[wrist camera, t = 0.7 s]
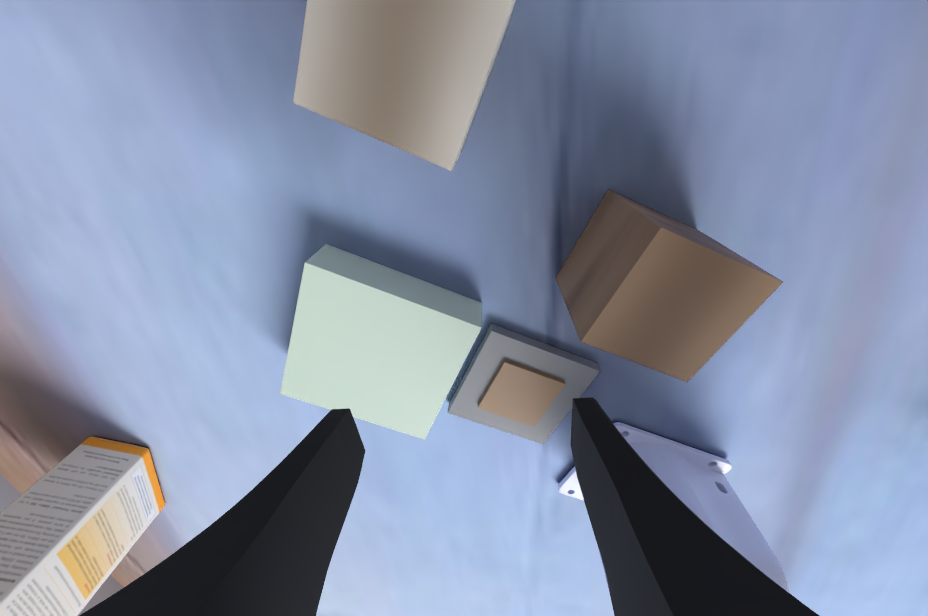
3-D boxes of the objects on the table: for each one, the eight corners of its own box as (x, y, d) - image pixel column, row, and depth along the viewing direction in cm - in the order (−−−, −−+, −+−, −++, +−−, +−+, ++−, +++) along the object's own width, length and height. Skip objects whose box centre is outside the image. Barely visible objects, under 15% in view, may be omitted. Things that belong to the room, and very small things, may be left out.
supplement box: (87, 432, 28) (-186, 660, 17) (152, 446, 28) (-72, 677, 17) (111, 494, 32) (-95, 711, 21) (167, 505, 32) (-5, 724, 21)
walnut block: (696, 228, 18) (783, 281, 13) (635, 309, 20) (687, 382, 15) (607, 188, 17) (661, 227, 12) (555, 277, 19) (580, 341, 14)
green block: (482, 299, 21) (481, 327, 18) (431, 404, 25) (424, 439, 22) (329, 241, 19) (304, 262, 17) (302, 362, 24) (280, 393, 21)
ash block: (509, 21, 14) (523, -27, 9) (462, 149, 17) (451, 171, 11) (387, -41, 13) (325, -132, 8) (356, 102, 16) (293, 102, 11)
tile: (596, 362, 22) (601, 374, 21) (541, 434, 25) (544, 447, 24) (491, 323, 21) (491, 333, 20) (448, 403, 24) (447, 416, 23)
